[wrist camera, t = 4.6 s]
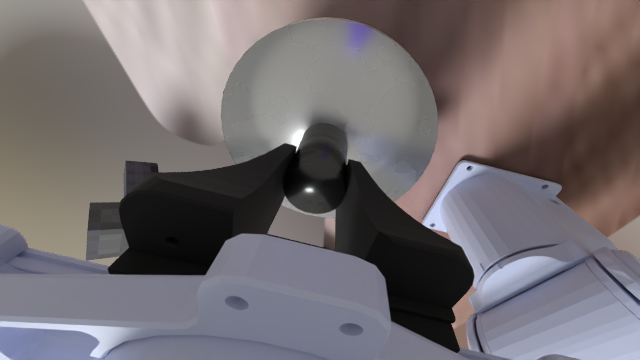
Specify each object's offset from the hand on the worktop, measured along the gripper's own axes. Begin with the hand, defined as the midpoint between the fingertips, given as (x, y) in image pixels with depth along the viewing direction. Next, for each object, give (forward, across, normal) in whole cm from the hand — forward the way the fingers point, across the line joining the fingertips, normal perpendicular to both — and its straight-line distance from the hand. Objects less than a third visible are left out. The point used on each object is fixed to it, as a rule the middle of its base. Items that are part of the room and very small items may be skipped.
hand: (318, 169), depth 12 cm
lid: (+4, 0, -1) cm, 4 cm away
